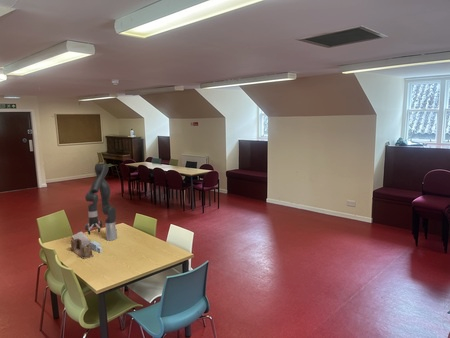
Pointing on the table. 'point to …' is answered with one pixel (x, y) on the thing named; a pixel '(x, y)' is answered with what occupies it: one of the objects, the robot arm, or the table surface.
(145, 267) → the table surface
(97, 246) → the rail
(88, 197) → the robot arm
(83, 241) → the decorative molding
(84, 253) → the brown wooden block
